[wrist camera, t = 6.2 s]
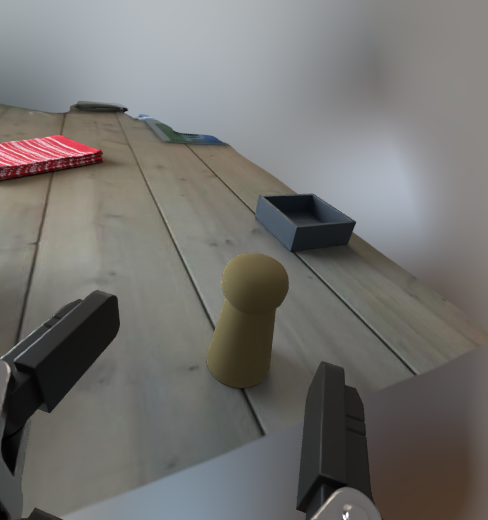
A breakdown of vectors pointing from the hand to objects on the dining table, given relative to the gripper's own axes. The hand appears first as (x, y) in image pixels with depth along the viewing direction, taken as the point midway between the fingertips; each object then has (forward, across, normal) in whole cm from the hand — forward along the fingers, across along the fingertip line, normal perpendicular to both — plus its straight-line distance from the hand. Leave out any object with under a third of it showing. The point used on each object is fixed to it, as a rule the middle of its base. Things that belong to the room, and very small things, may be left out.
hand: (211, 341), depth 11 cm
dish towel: (+44, +54, +14) cm, 71 cm away
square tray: (+43, -3, +14) cm, 45 cm away
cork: (+11, 0, +14) cm, 18 cm away
